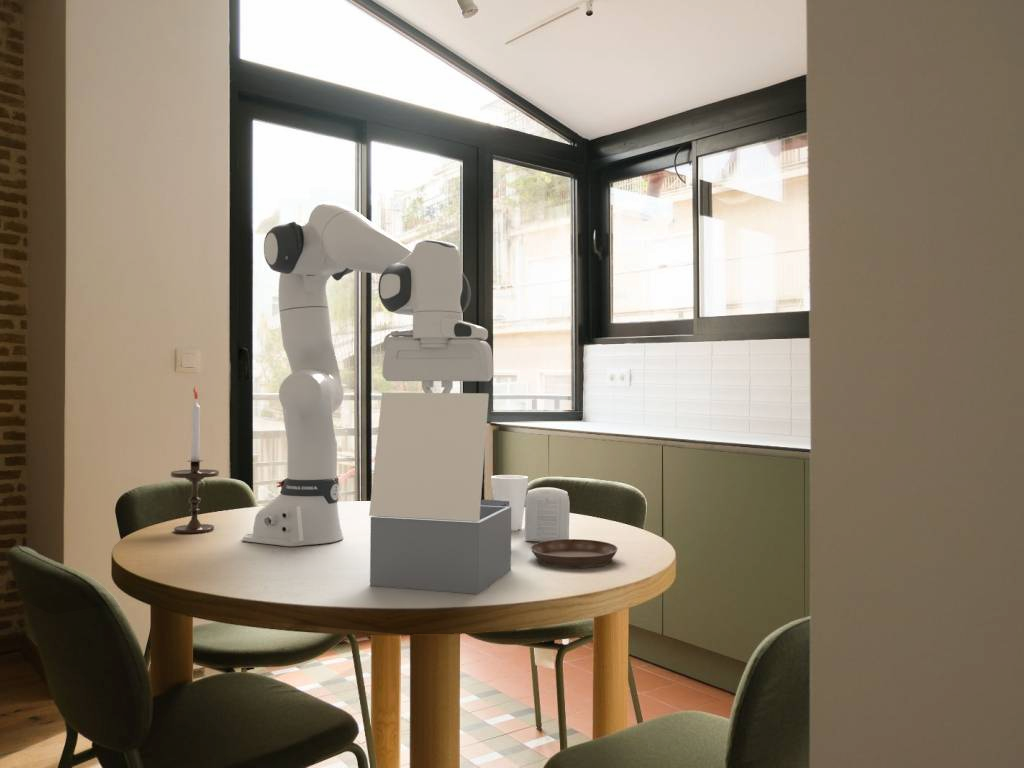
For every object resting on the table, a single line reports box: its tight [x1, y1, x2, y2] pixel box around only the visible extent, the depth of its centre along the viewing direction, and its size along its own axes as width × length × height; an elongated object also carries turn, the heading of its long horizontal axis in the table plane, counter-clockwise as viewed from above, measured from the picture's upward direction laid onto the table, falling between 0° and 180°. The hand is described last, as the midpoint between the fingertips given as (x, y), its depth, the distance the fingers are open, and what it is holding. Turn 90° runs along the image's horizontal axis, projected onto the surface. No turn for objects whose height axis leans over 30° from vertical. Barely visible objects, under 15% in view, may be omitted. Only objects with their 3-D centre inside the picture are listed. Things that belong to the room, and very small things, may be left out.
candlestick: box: [170, 387, 220, 535], centre depth 193 cm, size 11×11×35 cm
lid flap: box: [368, 392, 490, 521], centre depth 138 cm, size 20×22×1 cm
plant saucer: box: [530, 538, 619, 569], centre depth 161 cm, size 18×18×3 cm
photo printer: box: [524, 486, 571, 543], centre depth 182 cm, size 10×4×12 cm, turn 86°
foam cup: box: [490, 474, 529, 531], centre depth 199 cm, size 10×9×13 cm
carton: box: [369, 505, 512, 595], centre depth 145 cm, size 20×20×12 cm
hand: (437, 407), depth 142 cm, fingers closed, pressing on lid flap
